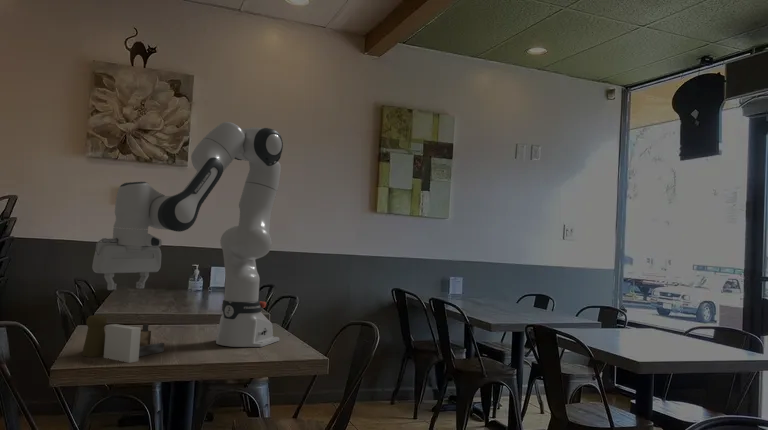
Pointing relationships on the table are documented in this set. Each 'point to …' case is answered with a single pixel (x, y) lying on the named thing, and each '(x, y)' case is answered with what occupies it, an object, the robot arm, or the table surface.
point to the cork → (95, 336)
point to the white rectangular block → (122, 343)
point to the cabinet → (148, 343)
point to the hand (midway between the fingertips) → (126, 289)
